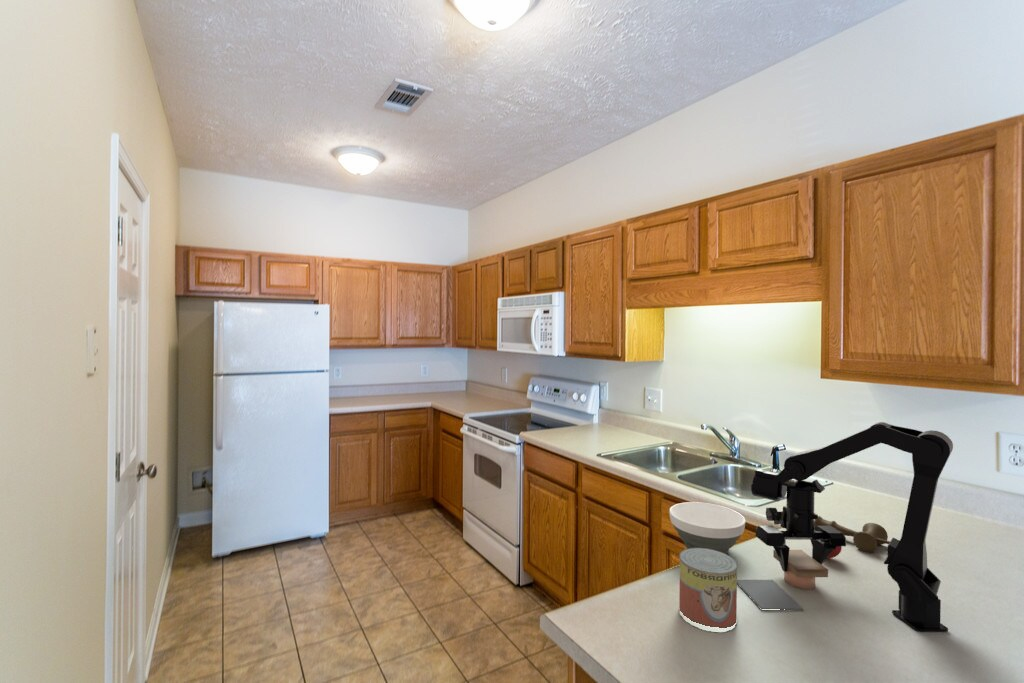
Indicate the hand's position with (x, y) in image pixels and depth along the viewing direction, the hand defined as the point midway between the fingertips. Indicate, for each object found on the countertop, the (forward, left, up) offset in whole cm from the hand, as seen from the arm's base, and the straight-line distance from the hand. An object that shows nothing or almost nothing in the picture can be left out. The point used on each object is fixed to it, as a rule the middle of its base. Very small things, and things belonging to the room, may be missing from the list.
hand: (799, 571), depth 114 cm
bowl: (+18, +15, -3) cm, 24 cm away
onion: (+12, -15, -3) cm, 19 cm away
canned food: (-14, +28, -3) cm, 31 cm away
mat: (-6, +11, -3) cm, 13 cm away
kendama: (+22, -29, -3) cm, 37 cm away
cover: (0, 0, +1) cm, 1 cm away
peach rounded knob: (0, 0, -3) cm, 3 cm away
